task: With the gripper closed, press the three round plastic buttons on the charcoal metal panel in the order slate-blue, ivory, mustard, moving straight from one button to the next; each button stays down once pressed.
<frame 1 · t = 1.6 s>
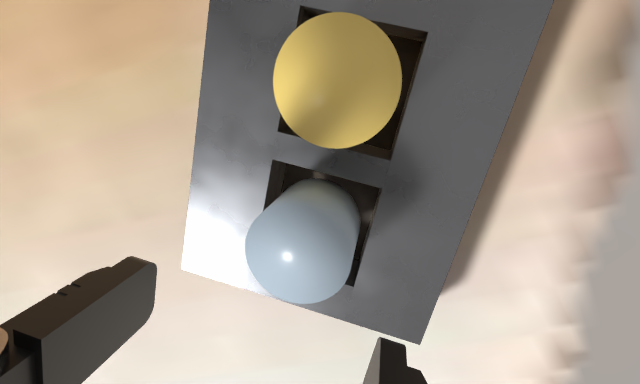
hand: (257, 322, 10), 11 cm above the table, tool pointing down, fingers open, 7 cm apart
panel: (353, 86, 18), on the table
button blue: (308, 235, 16), point 4 cm above the table, slide at 0.0 cm
button mustard: (342, 85, 14), point 4 cm above the table, slide at 0.0 cm
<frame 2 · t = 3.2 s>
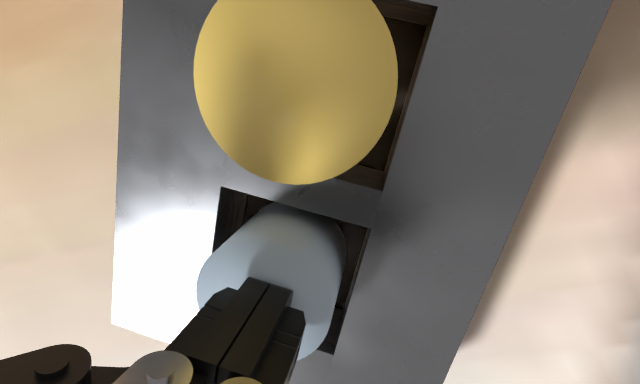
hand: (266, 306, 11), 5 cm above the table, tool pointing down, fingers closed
panel: (334, 86, 14), on the table
button blue: (280, 272, 13), point 3 cm above the table, slide at 1.5 cm, touching gripper
button mustard: (310, 84, 10), point 4 cm above the table, slide at 0.0 cm
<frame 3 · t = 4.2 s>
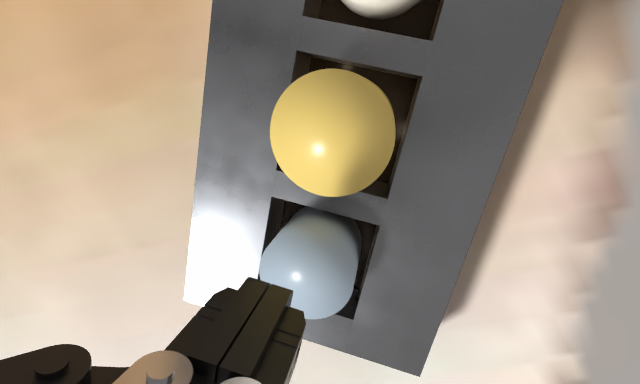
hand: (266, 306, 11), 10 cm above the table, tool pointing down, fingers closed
panel: (351, 121, 19), on the table
button blue: (314, 257, 18), point 3 cm above the table, slide at 1.7 cm
button mustard: (339, 130, 14), point 4 cm above the table, slide at 0.0 cm
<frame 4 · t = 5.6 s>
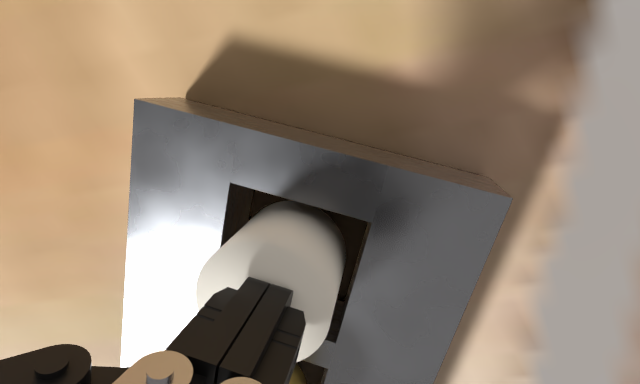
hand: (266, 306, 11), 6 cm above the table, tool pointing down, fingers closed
panel: (276, 349, 19), on the table
button ivory: (280, 274, 13), point 4 cm above the table, slide at 0.7 cm, touching gripper
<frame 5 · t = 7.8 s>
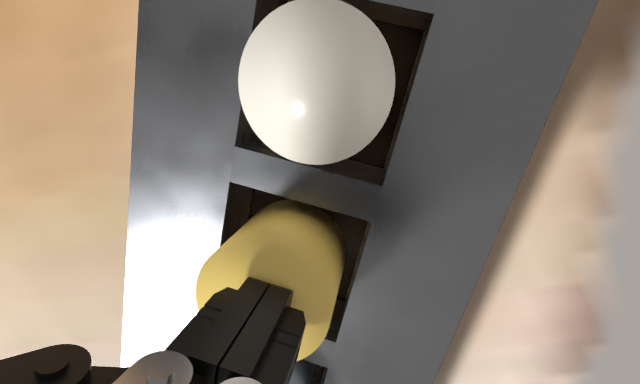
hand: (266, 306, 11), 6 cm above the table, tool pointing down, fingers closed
panel: (302, 235, 17), on the table
button mustard: (279, 273, 13), point 4 cm above the table, slide at 0.7 cm, touching gripper
button ivory: (325, 87, 12), point 3 cm above the table, slide at 1.7 cm
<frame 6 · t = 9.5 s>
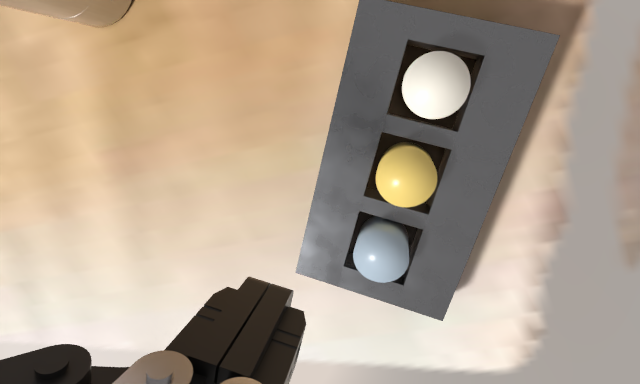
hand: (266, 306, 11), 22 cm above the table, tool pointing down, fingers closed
panel: (405, 166, 31), on the table
button blue: (381, 247, 31), point 3 cm above the table, slide at 1.7 cm
button mustard: (405, 173, 28), point 3 cm above the table, slide at 1.7 cm
button ivory: (432, 86, 26), point 3 cm above the table, slide at 1.7 cm
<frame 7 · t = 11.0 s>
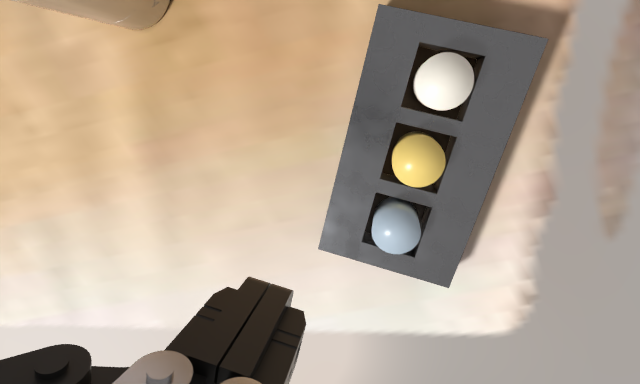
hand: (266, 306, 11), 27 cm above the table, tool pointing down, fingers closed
panel: (414, 153, 35), on the table
button blue: (395, 224, 35), point 3 cm above the table, slide at 1.7 cm
button mustard: (416, 158, 33), point 3 cm above the table, slide at 1.7 cm
button ivory: (440, 82, 30), point 3 cm above the table, slide at 1.7 cm
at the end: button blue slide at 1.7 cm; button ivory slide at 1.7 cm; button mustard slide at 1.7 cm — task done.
